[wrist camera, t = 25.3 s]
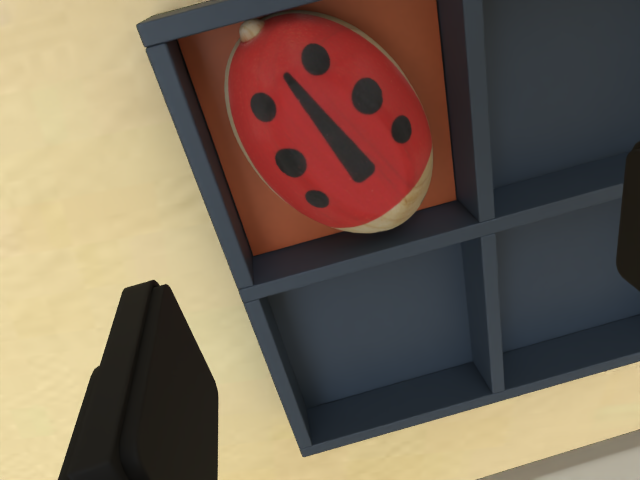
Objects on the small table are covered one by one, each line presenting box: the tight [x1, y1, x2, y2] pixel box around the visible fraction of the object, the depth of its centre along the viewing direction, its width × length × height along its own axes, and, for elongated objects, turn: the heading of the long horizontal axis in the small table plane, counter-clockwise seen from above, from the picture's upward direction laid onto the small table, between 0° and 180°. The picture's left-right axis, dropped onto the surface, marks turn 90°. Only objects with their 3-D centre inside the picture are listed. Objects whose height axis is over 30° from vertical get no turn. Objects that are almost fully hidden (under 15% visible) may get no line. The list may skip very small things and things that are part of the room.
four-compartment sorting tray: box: [136, 0, 640, 457], centre depth 22 cm, size 21×21×3 cm
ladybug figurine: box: [224, 10, 433, 233], centre depth 18 cm, size 7×10×4 cm
